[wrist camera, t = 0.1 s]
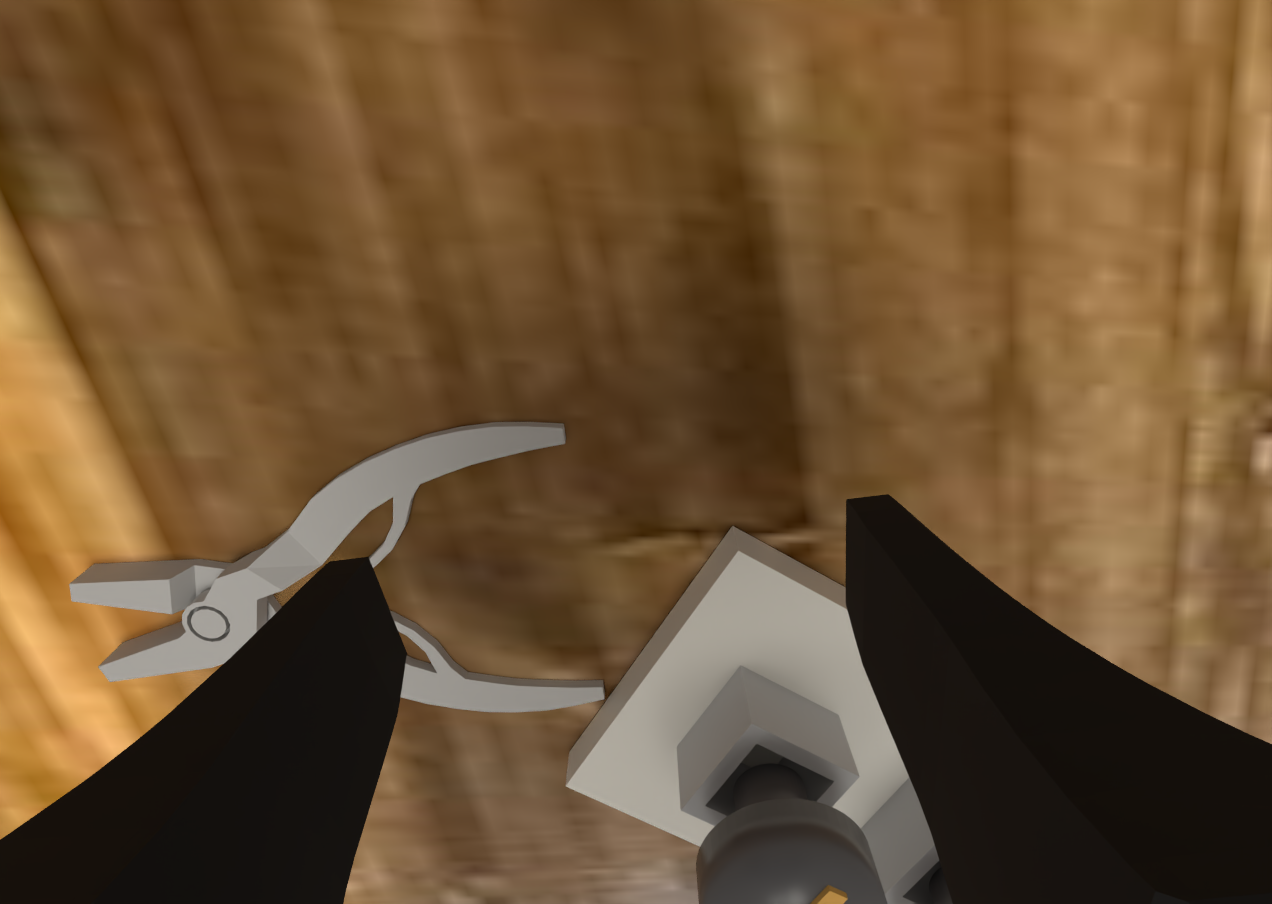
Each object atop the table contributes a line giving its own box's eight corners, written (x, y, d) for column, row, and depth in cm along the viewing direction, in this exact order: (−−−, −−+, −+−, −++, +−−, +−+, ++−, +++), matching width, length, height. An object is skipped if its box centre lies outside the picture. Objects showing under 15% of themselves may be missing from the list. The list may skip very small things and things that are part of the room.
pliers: (604, 724, 25) (140, 763, 25) (606, 690, 26) (168, 728, 27) (558, 430, 21) (17, 485, 22) (564, 410, 23) (56, 462, 23)
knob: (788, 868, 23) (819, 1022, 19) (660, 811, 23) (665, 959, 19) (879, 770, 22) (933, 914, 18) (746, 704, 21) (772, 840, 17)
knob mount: (1061, 978, 31) (1119, 1093, 27) (569, 752, 27) (558, 852, 23) (1258, 812, 28) (1353, 918, 24) (732, 525, 23) (750, 600, 20)
